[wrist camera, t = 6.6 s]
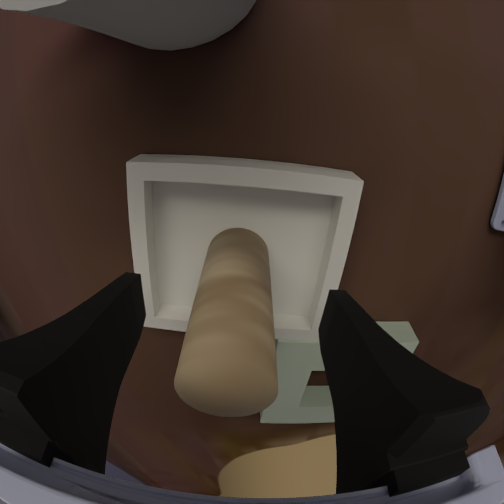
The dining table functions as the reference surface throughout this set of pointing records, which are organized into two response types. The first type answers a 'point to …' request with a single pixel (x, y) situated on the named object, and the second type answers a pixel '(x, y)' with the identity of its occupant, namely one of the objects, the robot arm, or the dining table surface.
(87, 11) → the cup
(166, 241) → the tray
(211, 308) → the peg
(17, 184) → the dining table surface
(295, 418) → the holder
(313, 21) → the dining table surface
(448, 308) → the dining table surface
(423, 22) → the dining table surface
